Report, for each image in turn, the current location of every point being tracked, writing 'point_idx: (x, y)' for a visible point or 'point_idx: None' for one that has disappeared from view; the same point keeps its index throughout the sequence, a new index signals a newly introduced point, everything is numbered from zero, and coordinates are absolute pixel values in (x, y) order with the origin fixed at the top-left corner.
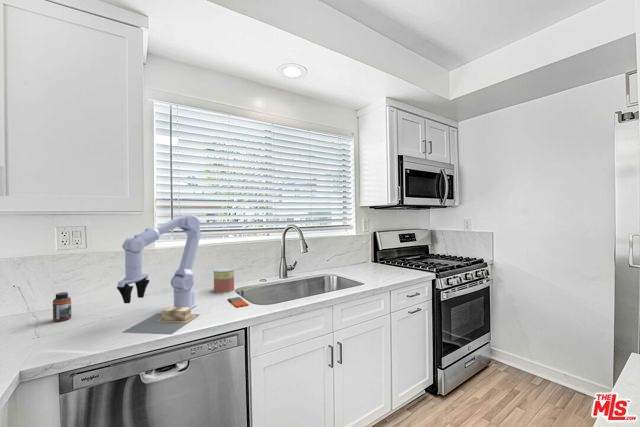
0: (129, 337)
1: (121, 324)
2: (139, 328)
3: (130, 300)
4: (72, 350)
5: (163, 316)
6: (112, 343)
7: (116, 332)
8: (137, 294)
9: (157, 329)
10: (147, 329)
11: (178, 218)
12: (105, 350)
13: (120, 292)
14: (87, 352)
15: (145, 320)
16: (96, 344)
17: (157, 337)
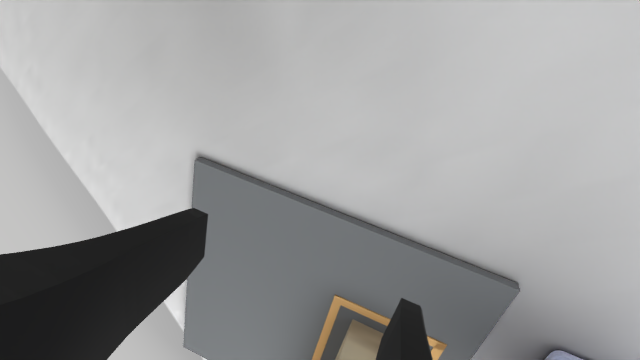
0: (168, 207)
1: (349, 90)
2: (239, 233)
3: (184, 278)
4: (33, 9)
5: (345, 339)
6: (113, 159)
7: (219, 121)
8: (397, 325)
9: (225, 305)
10: (227, 268)
11: None
12: (65, 158)
13: (27, 260)
14: (39, 95)
15: (364, 237)
16: (95, 91)
17: (175, 303)
